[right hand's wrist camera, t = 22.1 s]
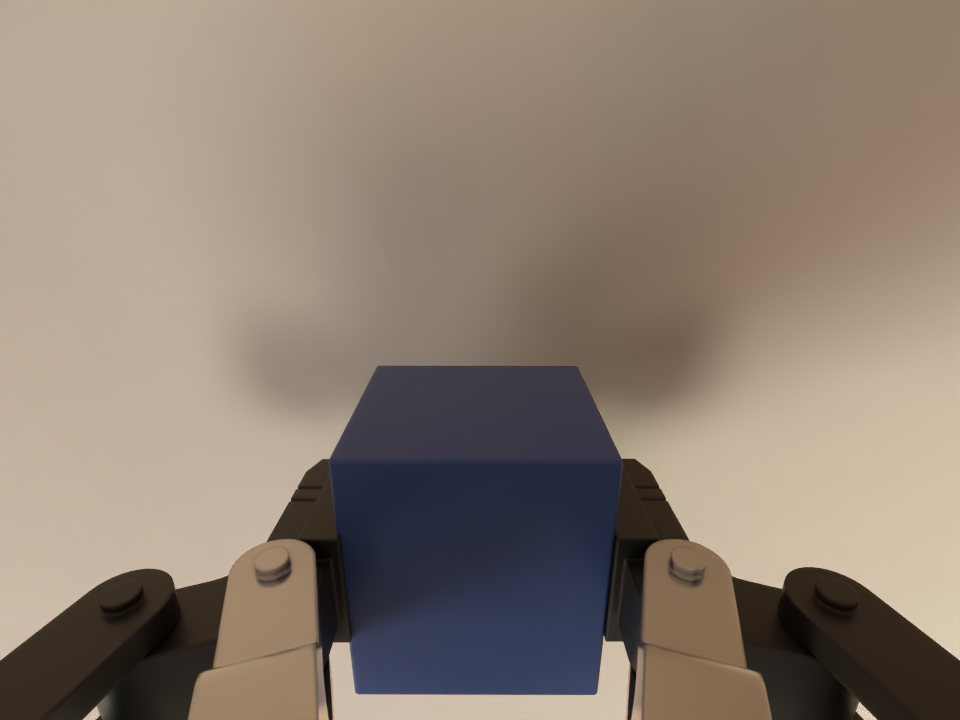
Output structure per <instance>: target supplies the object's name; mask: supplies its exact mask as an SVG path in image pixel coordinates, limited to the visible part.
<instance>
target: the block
mask: <svg viewBox="0 0 960 720" xmlns="http://www.w3.org/2000/svg"><path fill="white" fill-rule="evenodd" d="M328 463H329V472H330V480H331V489H332V497H333V506H334V514H335V523H336V532H337V534H338V535H341V544H342V552H343V561H344V570H345V578H346V587H347V596H348V604H349V613H350V622H351V630H352V640H351V642H349V643H350V651H351V660H352V668H353V677H354V685H355V692H356V693H357V694H464V695H595V694H596V693H597V690H598V681H599V672H600V663H601V654H602V645H603V637H604V627H605V619H606V610H607V601H608V592H609V583H610V574H611V565H612V556H613V548H614V539H615V530H616V522H617V513H618V504H619V495H620V486H621V477H622V469H623V461H622V459H621V457H620V455H619V453H618V450H617V448H616V446H615V444H614V442H613V440H612V438H611V436H610V434H609V432H608V430H607V427H606V425H605V423H604V421H603V419H602V417H601V415H600V413H599V411H598V409H597V407H596V404H595V402H594V400H593V398H592V396H591V394H590V392H589V390H588V388H587V386H586V384H585V381H584V379H583V377H582V375H581V373H580V371H579V369H578V367H576V366H378V367H377V368H376V370H375V372H374V374H373V376H372V378H371V380H370V382H369V384H368V386H367V387H366V389H365V391H364V393H363V395H362V397H361V399H360V401H359V403H358V405H357V407H356V409H355V411H354V413H353V415H352V417H351V419H350V420H349V422H348V424H347V426H346V428H345V430H344V432H343V434H342V436H341V438H340V440H339V442H338V444H337V446H336V448H335V450H334V452H333V453H332V455H331V457H330V459H329V462H328Z"/></svg>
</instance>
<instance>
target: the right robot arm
mask: <svg viewBox="0 0 960 720" xmlns="http://www.w3.org/2000/svg"><path fill="white" fill-rule="evenodd" d="M622 461H623V469H622V477H621V486H620V495H619V504H618V513H617V522H616V530H615V539H614V548H613V556H612V565H611V574H610V583H609V592H608V601H607V610H606V619H605V627H604V636H605V640H606V641H623V642H624V645H625V648H626V652H627V655H628V658H629V661H630V666H629V673H628V689H627V705H626V720H864V719H863V718H862V717H861V716H860V715H859V714H858V713H857V712H856V709H857V706H858V703H859V702H860V703H861V704H862V705H863V706H864V707H865V708H866V709H867V710H868V711H869V712H870V713H871V714H872V715H873V716H874V717H875V718H876V719H877V720H960V660H958V659H957V658H956V657H954V656H953V655H952V654H951V653H949V652H948V651H947V650H945V649H944V648H943V647H942V646H940V645H939V644H938V643H936V642H935V641H934V640H933V639H931V638H930V637H929V636H927V635H926V634H925V633H924V632H922V631H921V630H920V629H918V628H917V627H916V626H915V625H913V624H912V623H911V622H909V621H908V620H907V619H906V618H904V617H903V616H902V615H900V614H899V613H898V612H897V611H895V610H894V609H893V608H891V607H890V606H889V605H887V604H886V603H885V602H884V601H882V600H881V599H880V598H878V597H877V596H876V595H875V594H873V593H872V592H871V591H869V590H868V589H867V588H865V587H864V586H862V585H861V584H859V583H858V582H856V581H854V580H852V579H850V578H848V577H846V576H844V575H841V574H839V573H836V572H833V571H830V570H826V569H821V568H814V567H804V568H798V569H795V570H793V571H791V572H789V573H788V575H787V576H786V578H785V581H784V585H783V588H782V589H779V588H775V587H771V586H766V585H762V584H758V583H754V582H749V581H745V580H742V579H738V578H735V577H732V576H731V572H730V570H729V568H728V566H727V564H726V563H725V562H724V561H723V560H722V559H721V558H720V557H719V556H718V555H717V554H715V553H714V552H713V551H711V550H710V549H708V548H706V547H704V546H702V545H700V544H697V543H694V542H691V541H689V539H688V537H687V535H686V534H685V532H684V530H683V528H682V526H681V525H680V523H679V521H678V519H677V518H676V516H675V514H674V512H673V510H672V509H671V507H670V505H669V503H668V501H666V498H665V496H664V494H663V492H662V491H661V489H659V485H658V483H657V482H656V480H655V478H654V476H653V474H652V473H651V471H650V470H648V469H647V468H646V467H645V466H643V465H642V464H641V463H639V462H638V461H637V460H636V459H622ZM328 462H329V459H322V460H321V461H320V462H318V463H317V464H316V465H315V466H313V467H312V468H311V469H309V470H308V471H307V472H306V473H305V475H304V477H303V479H302V480H301V482H300V484H299V486H298V489H296V491H295V493H294V495H293V496H292V498H291V502H289V503H288V505H287V507H286V509H285V510H284V512H283V514H282V516H281V517H280V519H279V521H278V523H277V525H276V526H275V528H274V530H273V532H272V533H271V535H270V537H269V539H268V540H267V542H266V543H263V544H260V545H258V546H256V547H254V548H252V549H251V550H249V551H247V552H246V553H245V554H243V555H242V556H241V557H240V558H239V559H238V560H237V561H236V562H235V563H234V565H233V566H232V568H231V570H230V572H229V575H228V576H226V577H223V578H220V579H217V580H214V581H210V582H206V583H202V584H197V585H193V586H189V587H184V588H180V589H176V590H175V586H174V582H173V579H172V577H171V576H170V575H169V574H168V573H166V572H164V571H161V570H157V569H140V570H135V571H130V572H127V573H124V574H121V575H118V576H116V577H113V578H111V579H109V580H107V581H105V582H103V583H101V584H100V585H98V586H96V587H95V588H93V589H92V590H91V591H89V592H88V593H87V594H85V595H84V596H83V597H81V598H80V599H79V600H78V601H76V602H75V603H74V604H72V605H71V606H70V607H69V608H67V609H66V610H65V611H63V612H62V613H61V614H60V615H58V616H57V617H56V618H54V619H53V620H52V621H51V622H49V623H48V624H47V625H45V626H44V627H43V628H42V629H40V630H39V631H38V632H36V633H35V634H34V635H33V636H31V637H30V638H29V639H27V640H26V641H25V642H24V643H22V644H21V645H20V646H18V647H17V648H16V649H15V650H13V651H12V652H11V653H9V654H8V655H7V656H6V657H4V658H3V659H2V660H0V720H83V719H84V718H85V717H86V716H87V715H88V714H89V713H90V712H91V711H92V710H93V709H94V708H95V707H96V706H97V708H98V710H99V713H100V716H99V717H98V718H97V719H96V720H334V704H333V688H332V673H331V666H330V658H329V654H330V650H331V647H332V644H333V642H351V640H352V630H351V622H350V613H349V604H348V596H347V587H346V578H345V570H344V561H343V552H342V544H341V535H338V534H337V532H336V523H335V514H334V506H333V497H332V489H331V480H330V472H329V463H328Z"/></svg>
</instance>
